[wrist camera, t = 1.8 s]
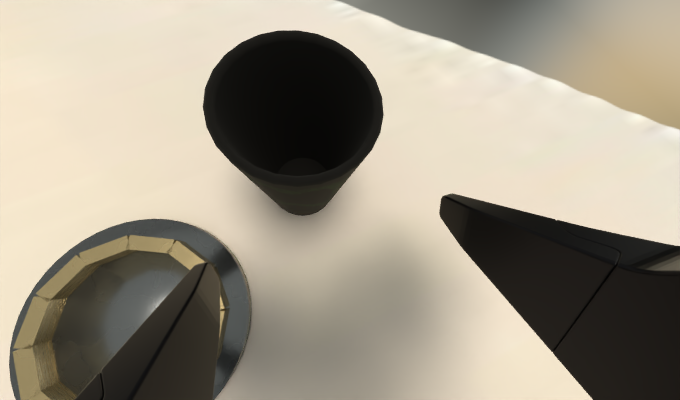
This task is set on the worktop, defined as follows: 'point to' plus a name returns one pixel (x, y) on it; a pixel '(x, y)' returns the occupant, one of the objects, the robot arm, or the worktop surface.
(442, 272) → the worktop surface
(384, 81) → the worktop surface
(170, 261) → the flange plate
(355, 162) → the cup
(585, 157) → the worktop surface
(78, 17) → the worktop surface
